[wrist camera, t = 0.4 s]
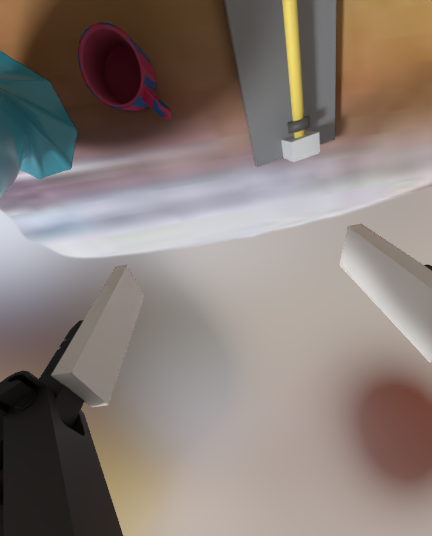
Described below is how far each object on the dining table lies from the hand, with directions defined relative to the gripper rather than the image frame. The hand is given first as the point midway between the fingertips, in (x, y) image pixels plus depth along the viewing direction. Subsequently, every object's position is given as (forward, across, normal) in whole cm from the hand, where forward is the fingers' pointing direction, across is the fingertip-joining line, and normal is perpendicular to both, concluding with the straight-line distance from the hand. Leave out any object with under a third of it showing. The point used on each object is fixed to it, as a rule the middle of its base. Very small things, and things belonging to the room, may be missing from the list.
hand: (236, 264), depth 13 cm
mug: (+27, -8, +12) cm, 31 cm away
